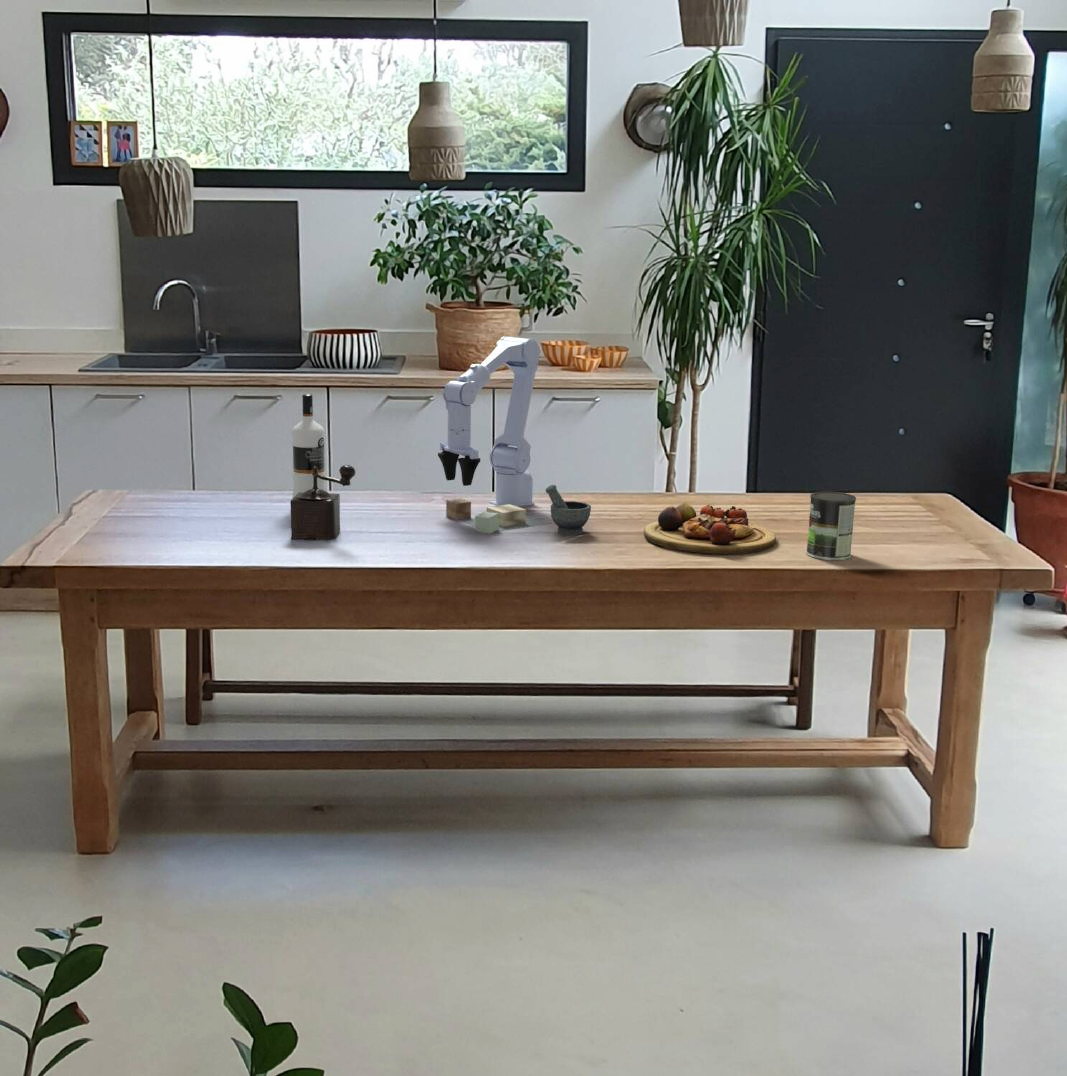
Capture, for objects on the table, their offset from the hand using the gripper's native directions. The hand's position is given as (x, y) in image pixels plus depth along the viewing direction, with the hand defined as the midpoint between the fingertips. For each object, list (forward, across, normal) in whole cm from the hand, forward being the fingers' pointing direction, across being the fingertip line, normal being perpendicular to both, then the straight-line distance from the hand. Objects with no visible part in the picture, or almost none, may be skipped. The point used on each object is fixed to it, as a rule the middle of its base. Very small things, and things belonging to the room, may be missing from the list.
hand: (458, 482), depth 339 cm
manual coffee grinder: (+10, -1, -37) cm, 38 cm away
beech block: (+9, +11, +7) cm, 16 cm away
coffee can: (+9, +76, +53) cm, 93 cm away
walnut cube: (+9, 0, 0) cm, 9 cm away
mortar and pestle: (+9, +27, +14) cm, 32 cm away
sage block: (+9, +16, -2) cm, 18 cm away
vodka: (+9, -27, -28) cm, 40 cm away
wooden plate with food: (+10, +50, +40) cm, 65 cm away
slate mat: (+9, +11, +7) cm, 16 cm away
